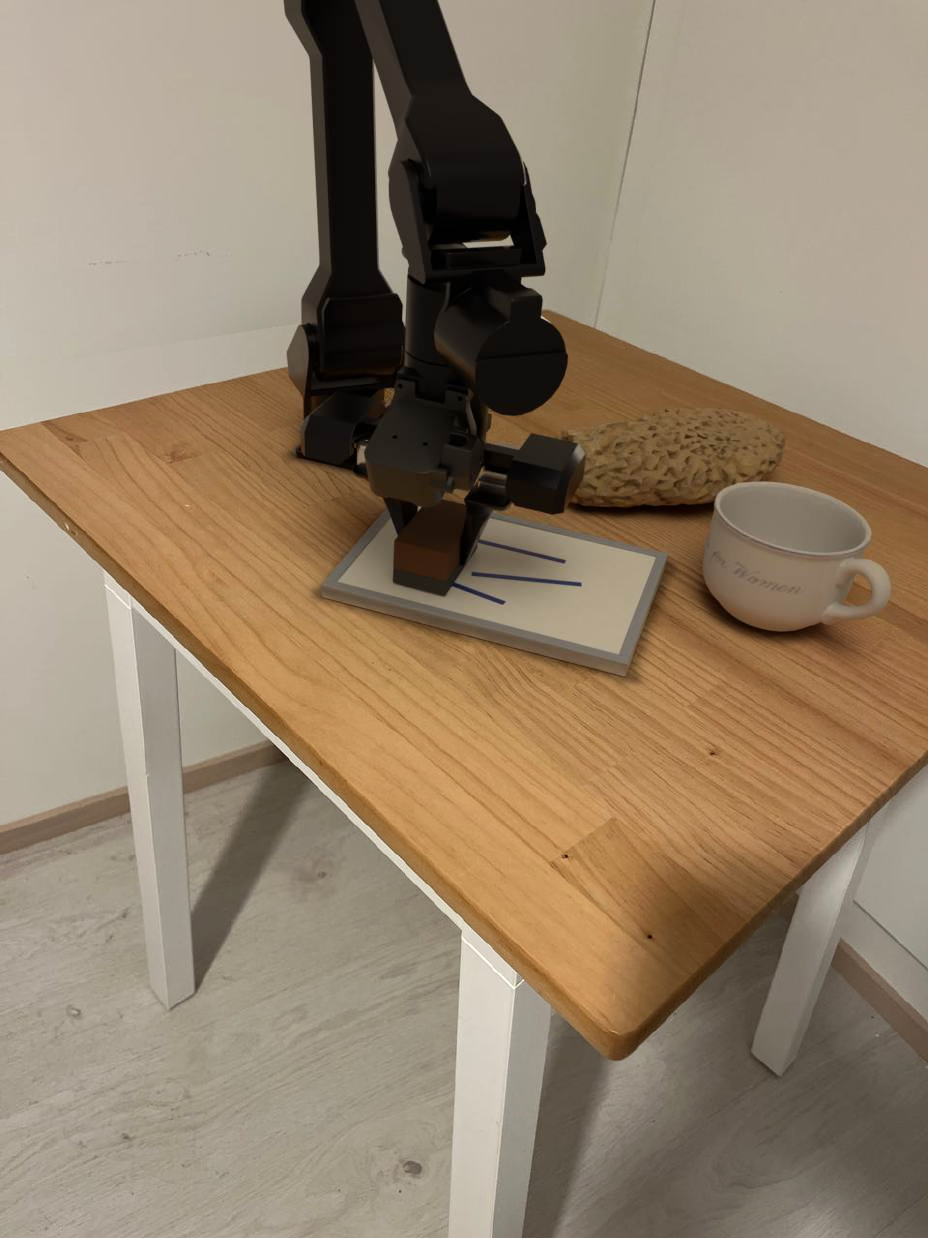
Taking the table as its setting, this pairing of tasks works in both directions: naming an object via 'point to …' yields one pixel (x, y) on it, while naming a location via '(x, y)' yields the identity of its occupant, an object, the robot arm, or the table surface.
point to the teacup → (788, 557)
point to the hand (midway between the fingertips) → (435, 556)
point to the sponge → (674, 457)
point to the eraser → (431, 548)
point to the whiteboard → (519, 590)
